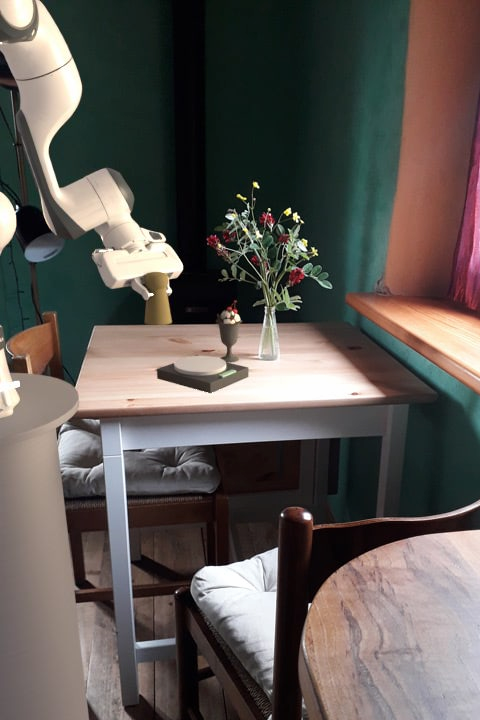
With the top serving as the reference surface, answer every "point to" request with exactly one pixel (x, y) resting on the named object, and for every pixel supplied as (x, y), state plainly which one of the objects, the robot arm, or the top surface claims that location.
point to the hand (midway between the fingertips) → (159, 296)
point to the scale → (202, 373)
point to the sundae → (229, 331)
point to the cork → (157, 299)
